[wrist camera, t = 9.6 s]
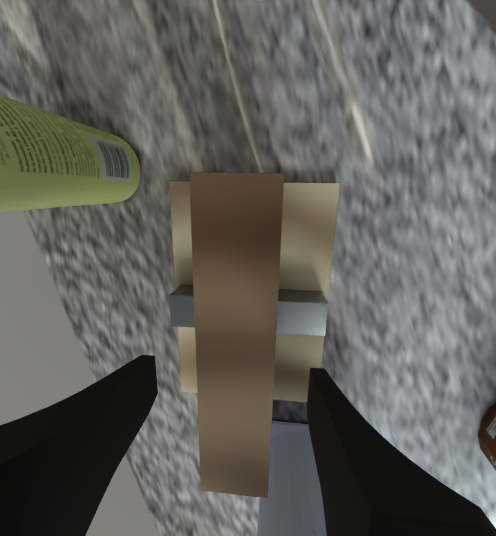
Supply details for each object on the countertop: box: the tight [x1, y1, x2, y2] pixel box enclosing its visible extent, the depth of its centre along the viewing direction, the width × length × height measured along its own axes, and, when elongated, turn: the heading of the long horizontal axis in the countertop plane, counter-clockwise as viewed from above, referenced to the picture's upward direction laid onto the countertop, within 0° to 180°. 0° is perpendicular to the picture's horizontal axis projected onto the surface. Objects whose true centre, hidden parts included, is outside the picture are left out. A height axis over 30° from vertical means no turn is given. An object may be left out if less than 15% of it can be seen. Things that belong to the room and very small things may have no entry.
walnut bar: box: [189, 172, 284, 498], centre depth 16 cm, size 18×4×6 cm, turn 179°
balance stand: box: [169, 181, 340, 403], centre depth 21 cm, size 18×12×4 cm, turn 179°
